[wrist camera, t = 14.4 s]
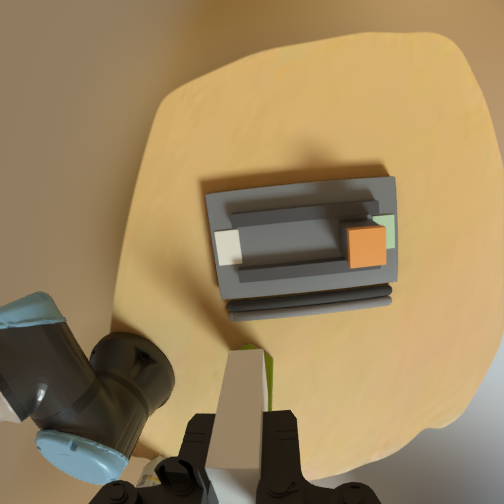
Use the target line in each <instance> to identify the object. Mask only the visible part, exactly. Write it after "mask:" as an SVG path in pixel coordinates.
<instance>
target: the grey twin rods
mask: <svg viewBox="0 0 504 504" xmlns="http://www.w3.org/2000/svg"><path fill="white" fill-rule="evenodd" d="M391 293H392V287H391V286H389V285H386V286H378V287H370V288H362V289H354V290H345V291H336V292H327V293H318V294H308V295H299V296H288V297H278V298H267V299H255V300H243V301H231V302H229V303H228V304H227V309H228V310H229V311H237V312H231V313H230V314H229V316H228V317H229V320H230V321H233V322H235V321H249V320H262V319H274V318H285V317H296V316H306V315H315V314H324V313H333V312H342V311H350V310H358V309H365V308H373V307H380V306H387V305H390V304H391V302H392V299H391V297H390V296H386V295H390V294H391ZM378 296H381V297H378ZM371 297H374V298H371ZM363 298H366V299H363ZM355 299H358V300H355ZM347 300H350V301H347ZM338 301H341V302H338ZM329 302H333V303H329ZM320 303H324V304H320ZM311 304H314V305H311ZM301 305H305V306H301ZM291 306H295V307H291ZM280 307H284V308H280ZM269 308H273V309H269ZM257 309H262V310H257ZM245 310H250V311H245Z"/></svg>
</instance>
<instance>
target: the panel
mask: <svg viewBox="0 0 504 504" xmlns="http://www.w3.org/2000/svg"><path fill="white" fill-rule="evenodd" d="M205 196H206V204H207V211H208V217H209V224H210V231H211V238H212V244H213V251H214V257H215V263H216V270H217V276H218V282H219V288H220V294H221V300H222V299H235V298H248V297H259V296H270V295H281V294H292V293H302V292H312V291H321V290H330V289H339V288H348V287H356V286H365V285H373V284H381V283H389V282H396V281H397V276H398V225H397V199H396V182H395V177H393V176H382V177H365V178H350V179H337V180H324V181H312V182H301V183H291V184H281V185H271V186H262V187H253V188H245V189H237V190H229V191H221V192H213V193H208V194H205ZM369 218H370V219H371V220H373V221H374V222H376V223H378V224H379V225H383V226H385V227H386V265H377V266H369V267H360V268H350V267H349V266H348V262H347V261H346V259H345V258H344V256H343V255H342V254H341V249H340V231H339V221H346V220H357V219H369Z"/></svg>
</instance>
